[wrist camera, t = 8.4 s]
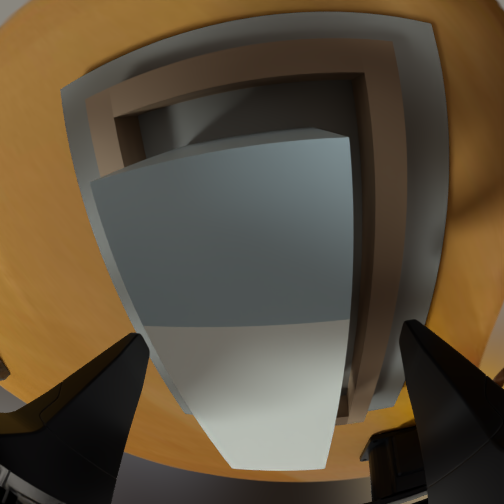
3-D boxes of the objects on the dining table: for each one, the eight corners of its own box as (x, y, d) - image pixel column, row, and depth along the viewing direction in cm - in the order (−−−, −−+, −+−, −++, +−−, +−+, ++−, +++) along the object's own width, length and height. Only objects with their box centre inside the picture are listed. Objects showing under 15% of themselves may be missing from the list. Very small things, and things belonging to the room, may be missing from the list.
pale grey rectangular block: (321, 383, 13) (324, 468, 8) (246, 385, 14) (232, 468, 9) (311, 127, 8) (349, 137, 3) (186, 145, 8) (89, 182, 4)
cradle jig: (390, 394, 15) (397, 424, 12) (188, 402, 17) (179, 430, 15) (419, 29, 6) (451, 13, 4) (75, 89, 8) (34, 90, 6)
